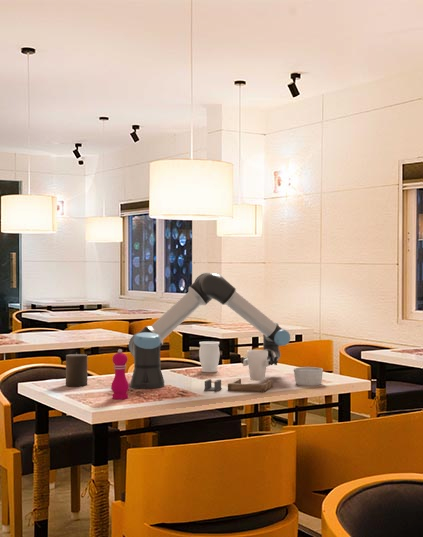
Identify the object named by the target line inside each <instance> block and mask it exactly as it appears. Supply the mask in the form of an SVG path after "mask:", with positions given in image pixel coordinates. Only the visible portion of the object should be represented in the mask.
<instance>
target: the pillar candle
mask: <svg viewBox="0 0 423 537" xmlns="http://www.w3.org/2000/svg"><path fill="white" fill-rule="evenodd" d="M65 386H66V387H71V388H72V387H73V388H74V387H77V388H78V387H87V386H88V354H84V353H82V354H81V353H78V352H75V353H73V354H66V355H65Z"/></svg>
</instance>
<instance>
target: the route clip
mask: <svg viewBox="0 0 423 537" xmlns="http://www.w3.org/2000/svg"><path fill="white" fill-rule="evenodd" d="M213 386H214V387H213ZM213 386H212V379H207V380H205V381H204V389H203V390H204V391H205V392H219V391H221V390H222V389H223V388H222V379H218V380H215V381H214V385H213Z"/></svg>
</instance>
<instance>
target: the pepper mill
mask: <svg viewBox="0 0 423 537" xmlns="http://www.w3.org/2000/svg"><path fill="white" fill-rule="evenodd" d="M127 362H128V355H126V354H125V353H124V352H123V349H122V348H118V350H117V353H114V355H113V356H112V363H113V369H114V372H115V373H114V378H113V380H112V383H111V385H110V386H111V388H110V389H111V391H112V399H113V400H127V399H129V394H128V393H127V392H128V391H129V389H130V385H129V381H128V379H127V377H126V369H127V364H126V363H127Z"/></svg>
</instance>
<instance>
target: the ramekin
mask: <svg viewBox="0 0 423 537" xmlns="http://www.w3.org/2000/svg"><path fill="white" fill-rule="evenodd" d="M323 372H324V369H323V368H322V367H315V366H300V367H295V368H293V374H294V381H295V383H296V385H297V386H307V387H314V386H320V385H321V384H322V382H323Z"/></svg>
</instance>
